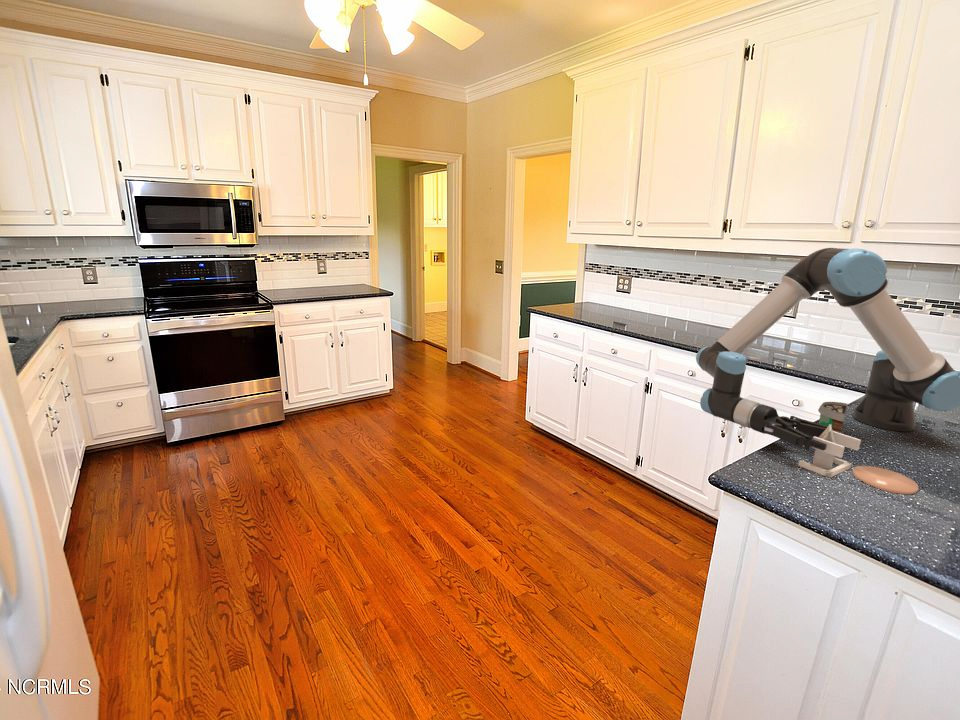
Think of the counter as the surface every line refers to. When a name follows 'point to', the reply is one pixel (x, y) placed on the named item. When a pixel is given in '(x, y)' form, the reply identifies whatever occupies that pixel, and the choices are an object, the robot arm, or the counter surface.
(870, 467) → the saucer
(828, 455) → the tea bag
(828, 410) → the food container
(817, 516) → the counter surface
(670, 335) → the counter surface
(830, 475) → the holder
